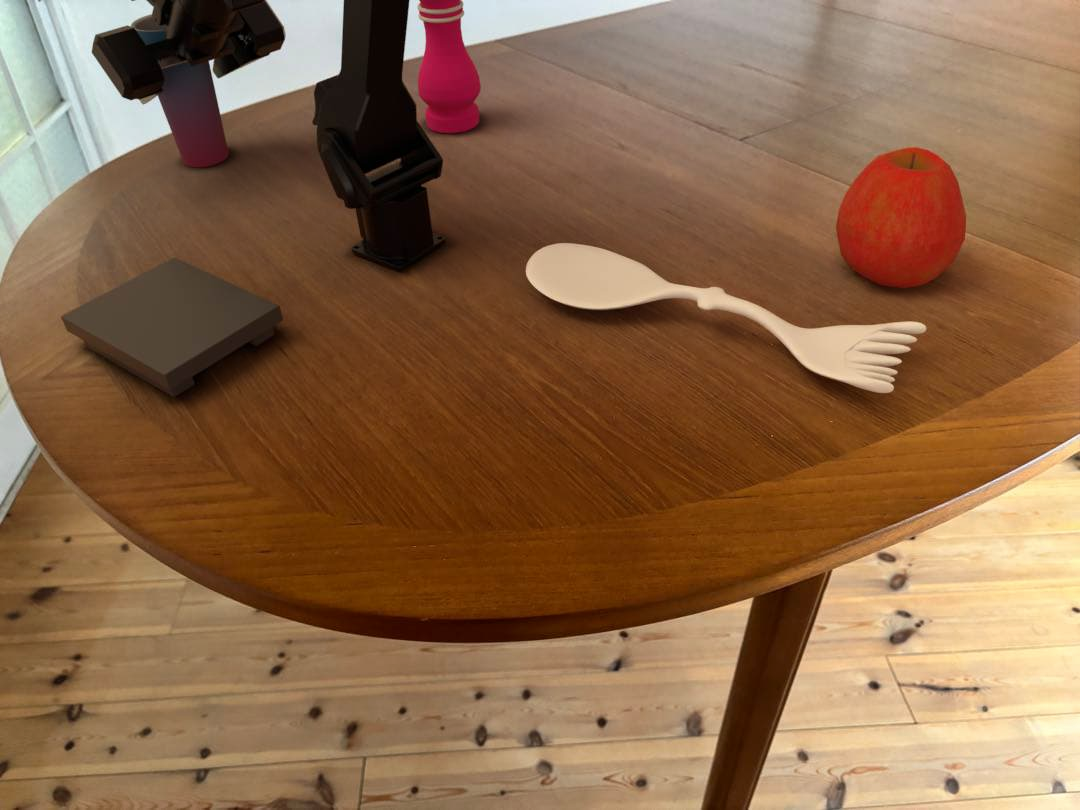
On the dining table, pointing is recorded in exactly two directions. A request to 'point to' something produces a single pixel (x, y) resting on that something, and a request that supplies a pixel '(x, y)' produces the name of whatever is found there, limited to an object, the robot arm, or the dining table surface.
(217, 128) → the cup
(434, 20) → the pepper mill
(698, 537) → the dining table surface
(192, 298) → the grey footed tile
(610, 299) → the spoon
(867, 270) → the apple
